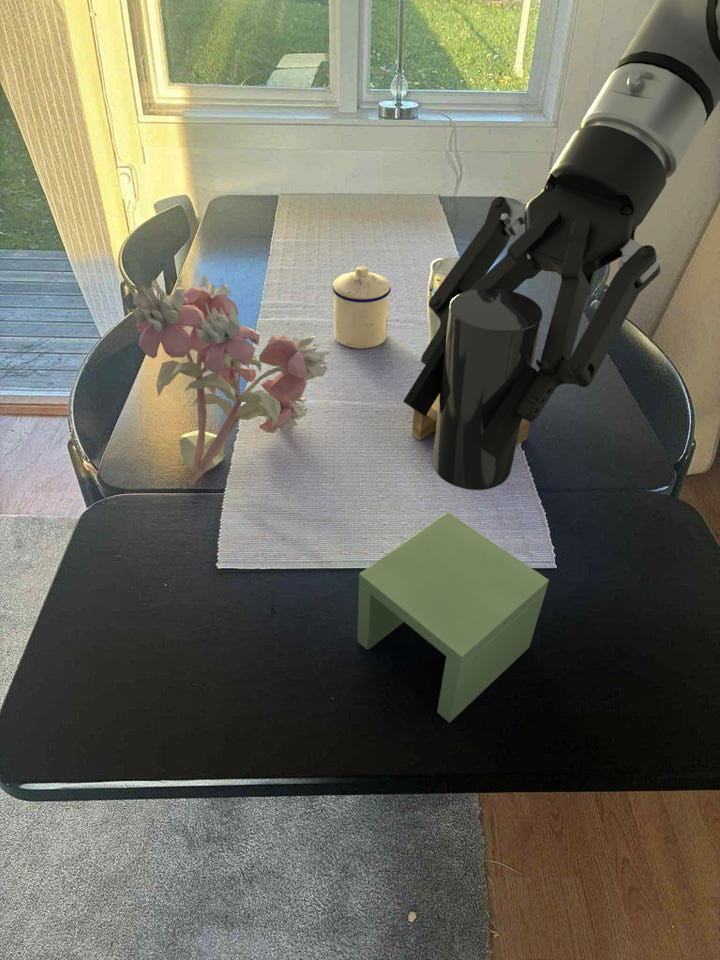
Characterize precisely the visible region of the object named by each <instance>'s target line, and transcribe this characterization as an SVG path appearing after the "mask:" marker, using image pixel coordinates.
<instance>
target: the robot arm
mask: <svg viewBox="0 0 720 960" xmlns="http://www.w3.org/2000/svg"><path fill="white" fill-rule="evenodd" d="M719 102H720V0H655V2H654V4H653V5H652V7H651V8H650V10H649V11H648V13H647V15H646V17H645V18H644V20H643V22H642V23H641V24H640V27H639V28H638V30H637V32H636V33H635V34H634V36H633V38H632V40H631V42H630V43H629V44H628V46H627V48H626V50H625V51H624V52H623V54H622V56H621V58H620V60H619V61H618V62H617V65H616V66H615V68H614V69H613V70H612V73H611V74H610V75H609V77H608V79H607V80H606V82H605V83H604V85H603V87H602V88H601V90H600V92H599V93H598V95H597V97H596V98H595V100H594V101H593V103H592V105H591V106H590V108H589V109H588V111H587V112H586V114H585V116H584V118H583V119H582V121H581V123H580V128H578V129H577V130H576V131H575V132H574V133H573V134H572V136H571V138H570V139H569V140H568V142H567V144H566V146H564V149H563V150H562V152H561V153H560V154H559V156H558V159H557V160H556V161H555V163H554V165H553V166H552V169H551V170H550V172H549V175H548V177H547V181H546V184H545V185H544V188H543V189H542V190H541V191H540V192H539V193H538V194H537V195H535V196H534V197H533V198H532V199H530V201H529V202H528V203H527V204H525V203H524V204H522V203H521V204H520V203H509V202H508V201H507V199H506V198H505V197H504V196H497V197H495V198H494V199H493V200H492V201H491V204H490V207H489V209H488V212H487V214H486V218H485V221H484V223H483V225H482V226H481V228H480V229H479V230H478V232H477V233H476V234H475V236H474V237H473V239H472V240H471V241H470V243H469V245H467V247H466V249H465V250H464V251H463V253H462V254H461V256H460V257H458V258H459V260H458V261H457V263H456V264H455V265H454V267H453V268H452V270H451V271H450V272H449V274H448V275H447V277H446V278H445V279H444V281H443V282H442V283H441V285H440V286H439V288H438V289H437V290H436V292H435V293H434V295H433V296H432V297H431V299H430V301H429V307H430V308H431V309H432V310H433V311H434V313H435V314H436V315H437V316H438V317H439V319H440V327H439V329H438V331H437V332H436V334H435V336H434V337H433V339H432V340H431V342H430V344H429V345H428V347H427V346H426V347H427V349H426V348H425V350H424V352H422V356H421V360H420V362H421V363H422V364H423V365H424V367H423V369H422V370H421V372H420V373H419V375H418V376H417V378H416V379H415V381H414V383H413V385H412V386H411V388H410V389H409V391H408V392H407V394H406V395H405V397H404V399H403V400H402V402H403V403H405V404H406V405H407V406H408V407H410V408H412V409H413V411H414V410H416V411H417V412H419V413H420V414H422V415H424V416H426V415H427V413H428V411H429V410H430V408H431V407H432V405H433V404H434V402H435V400H436V399H437V397H438V396H439V394H440V388H441V379H442V370H443V360H444V351H445V342H446V333H447V323H448V314H449V305H450V302H451V301H452V299H453V298H454V297H456V296H457V295H459V294H461V293H463V292H466V291H469V290H474V289H502V290H508V291H512V292H515V291H516V289H518V288H519V287H520V286H521V285H522V284H523V283H524V282H525V281H526V280H531V279H534V278H535V277H536V276H537V275H538V274H539V273H540V272H541V271H544V272H551V273H556V274H558V275H559V276H560V277H561V282H560V285H559V289H558V294H557V297H556V300H555V304H554V308H553V311H552V315H551V319H550V322H549V327H548V330H547V334H546V337H545V342H544V345H543V349H542V353H541V356H540V360H539V359H536V360H535V364H536V366H537V368H538V371H537V369H536V368H534V367H533V366H532V367H530V366H528V365H526V366H525V368H524V369H523V371H522V372H521V374H520V375H519V377H518V379H517V380H516V382H515V383H514V385H513V386H512V388H511V390H510V391H509V393H508V394H507V396H506V398H505V399H504V401H503V402H502V404H501V405H500V407H499V409H498V410H497V412H496V413H495V415H494V416H493V418H492V420H491V421H490V423H489V424H488V426H487V427H486V429H485V431H484V432H483V434H482V435H481V437H480V438H479V440H478V442H477V443H476V445H478V446H479V447H480V448H482V449H483V450H484V451H486V452H487V453H489V454H490V455H492V456H493V457H495V458H497V459H498V457H499V455H500V454H501V452H502V451H503V449H504V448H505V446H506V445H507V443H508V441H509V440H510V438H511V437H512V435H513V434H514V432H515V430H516V429H517V427H518V426H519V424H520V423H521V421H522V419H525V420H527V421H529V422H530V423H533V422H534V421H535V420H537V418H538V417H539V415H540V414H541V412H542V411H543V409H544V407H545V406H546V405H547V403H548V401H549V399H550V398H551V397H552V396H553V393H554V392H555V391H556V389H557V388H558V387H559V386H561V385H565V384H567V385H577V386H578V387H579V388H586V387H588V386H590V385H591V384H592V383H593V381H594V379H595V377H596V375H597V373H598V372H599V369H600V367H601V366H602V364H603V362H604V360H605V358H606V356H607V354H608V352H609V350H610V349H611V347H612V345H613V343H614V341H615V340H616V337H617V335H618V333H619V332H620V330H621V328H622V326H623V325H624V323H625V321H626V319H627V317H628V315H629V313H630V311H631V309H632V308H633V306H634V304H635V302H636V301H637V298H638V297H639V294H640V293H641V292H642V291H644V290H645V288H647V286H649V285H650V284H651V283H652V282H653V280H655V279H656V278H657V277H658V276H659V274H660V273H661V265H660V261H659V258H658V255H657V252H656V248H655V247H654V246H653V245H650V244H645V245H641V244H639V243H638V242H637V241H635V235H636V234H635V233H636V230H637V228H638V227H639V226H640V225H641V224H642V223H643V221H644V220H645V219H646V217H647V216H648V214H649V212H650V210H651V209H652V207H653V206H654V205H655V203H656V201H657V200H658V198H659V197H660V195H661V194H662V192H663V191H664V189H665V187H666V185H667V179H669V178H670V177H672V176H673V175H674V174H675V172H676V171H677V169H678V167H679V166H680V164H681V162H682V161H683V159H684V158H685V156H686V155H687V153H688V151H689V149H690V148H691V146H692V144H693V143H694V141H695V139H696V138H697V137H698V135H699V133H700V131H701V130H702V128H703V127H704V126H705V124H706V123H707V121H708V120H709V118H710V117H711V114H712V113H713V111H714V110H715V108H716V107H717V106H718V104H719ZM523 225H524V232H523V233H522V234H521V235H519V237H518V238H517V239H516V240H514V241H513V243H511V244H510V245H509V247H508V248H507V253H506V254H505V255H504V256H503V257H502V258H501V259H500V260H499V261H498V262H497V263H496V261H497V259H498V258H499V257H500V255H501V254H502V253H503V252H504V250H505V248H506V247H507V245H508V243H509V241H510V239H511V237H515V236H517V235H518V233H519V232H518V230H519V229H520V227H521V226H523ZM528 256H529V257H528ZM618 259H619V261H618V264H617V268H618V270H617V271H616V272H615V275H614V276H613V278H612V279H611V281H610V284H609V285H608V286H607V289H606V291H605V293H604V295H603V296H602V299H601V300H600V302H599V304H598V306H597V307H596V309H595V312H594V313H593V315H592V317H591V319H590V321H589V323H588V324H587V327H586V328H585V330H584V332H583V334H582V335H581V337H580V339H579V341H578V343H577V345H576V347H575V344H576V339H577V335H578V331H579V328H580V323H581V320H582V318H583V317H582V316H583V313H584V309H585V305H586V301H587V298H588V297H589V296H590V295H591V292H592V289H593V285H594V280H595V277H596V273H597V271H598V270H600V269H602V268H604V267H606V266H608V265H610V264H612V263H613V262H615V261H616V260H618ZM494 263H496V264H495V265H494ZM493 265H494V266H493ZM492 266H493V267H492ZM574 347H575V350H574Z"/></svg>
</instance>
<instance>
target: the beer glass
mask: <svg viewBox="0 0 720 960" xmlns="http://www.w3.org/2000/svg"><path fill="white" fill-rule="evenodd" d="M459 258H460V257H457V256H456V257H454V256H446V257H440V258H437V259H435V260H433V261H432V262H431V264H430V271H429V277H428V283H427V290H426V312H427V322H428V340H427V344H426V348H425V350H426V349H427V347H428V345H429V344H430V342H431V340H432V339H433V337H434V336H435V334H436V332H437V331H438V329H439V327H440V319H439V317H438V316H437V315H436V314H435V313H434V311H433V310H432V309H431V308H430V307H429V301H430V299H431V297H432V296H433V295H434V293H435V292H436V290H437V289H438V288H439V286H440V285H441V283H442V282H443V281H444V279H445V278H446V277H447V275H448V274H449V272H450V271H451V270H452V268H453V267H454V265H455V264H456V263H457V261H458V260H459Z"/></svg>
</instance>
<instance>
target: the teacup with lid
mask: <svg viewBox="0 0 720 960" xmlns="http://www.w3.org/2000/svg"><path fill="white" fill-rule="evenodd" d="M391 290H392V287H391V284H390V282H389V281H388V280H387V279H386V278H385V277H384V276H382V275H380V274H378V273H374V272H370V271H369V269H368V267H366V266H363V265H361V266H357V267H356V268H355V271H352V272H348V273H344V274H341V275H340V276H338V277H336V279H335V280H334V281H333V284H332V297H333V324H334V325H333V331H334V332H333V334H334V338H335V339H336V341H337V342H338V343H339V344H341V345H343V346H344V347H348V348H353V349H359V350H360V349H370V348H371V349H372V348H374V347H378V346H380V345H381V344H383V343H384V342H385V341H386V339H387V336H388V323H389V321H388V320H389V302H390V301H389V300H390V294H391V292H392V291H391Z"/></svg>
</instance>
